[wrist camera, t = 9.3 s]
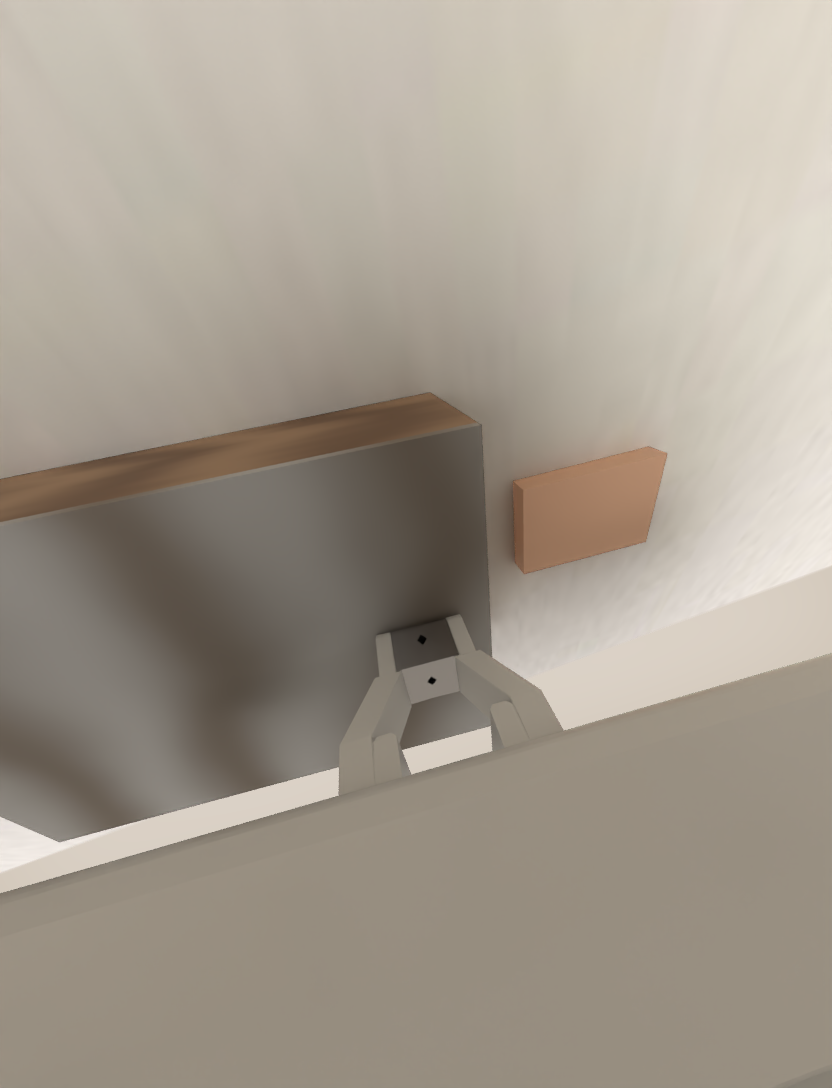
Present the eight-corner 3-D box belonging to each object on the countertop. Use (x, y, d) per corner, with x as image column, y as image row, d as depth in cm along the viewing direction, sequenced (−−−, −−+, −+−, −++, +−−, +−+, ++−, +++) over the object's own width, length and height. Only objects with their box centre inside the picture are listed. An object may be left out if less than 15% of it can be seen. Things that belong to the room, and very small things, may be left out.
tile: (645, 541, 18) (625, 527, 19) (667, 453, 15) (641, 444, 16) (523, 574, 18) (511, 557, 19) (523, 489, 15) (508, 477, 16)
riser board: (134, 712, 19) (59, 842, 14) (-110, 501, 12) (-452, 620, 7) (459, 631, 21) (494, 724, 16) (430, 392, 13) (481, 425, 8)
